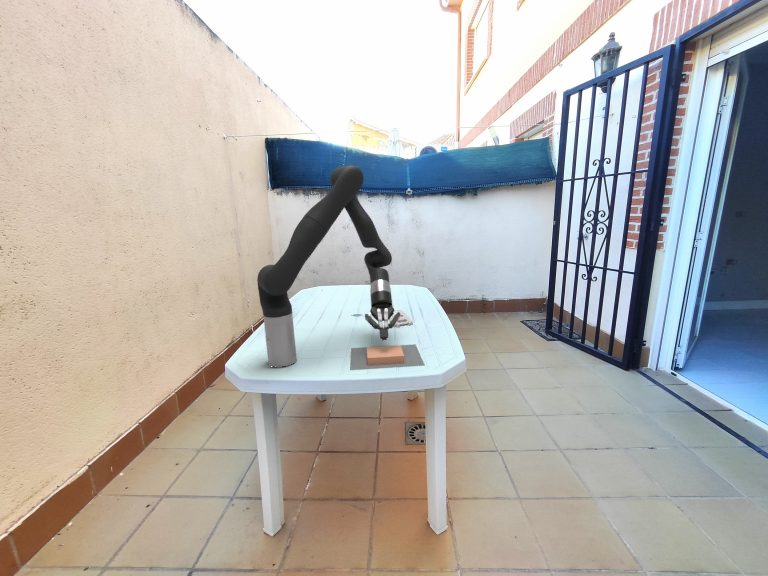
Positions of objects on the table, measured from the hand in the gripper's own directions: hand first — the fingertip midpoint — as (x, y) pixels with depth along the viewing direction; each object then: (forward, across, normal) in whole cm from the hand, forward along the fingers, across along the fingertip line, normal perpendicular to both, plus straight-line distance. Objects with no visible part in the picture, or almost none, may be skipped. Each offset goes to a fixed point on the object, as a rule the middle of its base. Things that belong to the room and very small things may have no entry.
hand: (384, 339), depth 114 cm
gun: (-24, +10, +35) cm, 43 cm away
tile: (+1, 0, +7) cm, 7 cm away
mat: (+4, 0, +7) cm, 8 cm away
